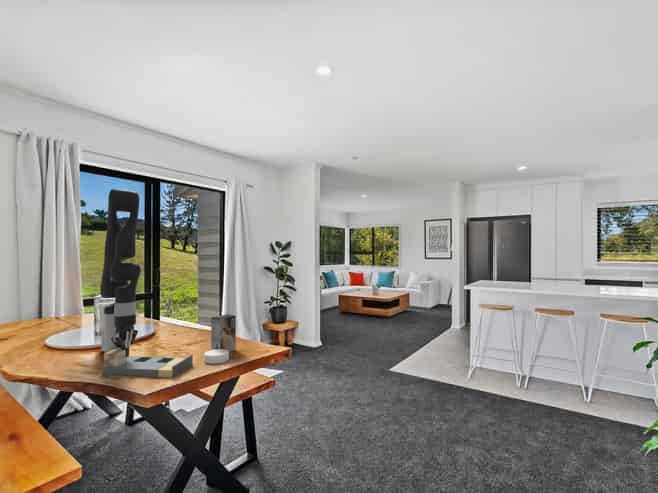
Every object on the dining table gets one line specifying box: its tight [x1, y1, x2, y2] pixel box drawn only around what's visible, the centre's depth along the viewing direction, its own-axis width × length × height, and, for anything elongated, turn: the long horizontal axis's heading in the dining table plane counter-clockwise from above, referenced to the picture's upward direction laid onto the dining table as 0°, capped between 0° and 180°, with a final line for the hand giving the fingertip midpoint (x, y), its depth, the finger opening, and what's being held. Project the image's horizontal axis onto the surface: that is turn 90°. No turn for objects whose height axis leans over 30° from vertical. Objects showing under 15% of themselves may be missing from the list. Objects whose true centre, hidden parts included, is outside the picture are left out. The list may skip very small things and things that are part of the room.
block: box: [103, 350, 126, 367], centre depth 132 cm, size 5×5×5 cm
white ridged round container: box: [203, 349, 230, 365], centre depth 147 cm, size 10×10×4 cm
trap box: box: [101, 354, 194, 378], centre depth 135 cm, size 28×14×4 cm, turn 84°
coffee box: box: [210, 314, 237, 353], centre depth 159 cm, size 9×6×16 cm
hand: (125, 357), depth 137 cm, fingers closed
